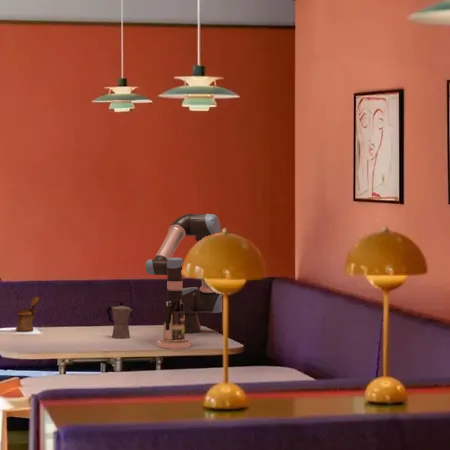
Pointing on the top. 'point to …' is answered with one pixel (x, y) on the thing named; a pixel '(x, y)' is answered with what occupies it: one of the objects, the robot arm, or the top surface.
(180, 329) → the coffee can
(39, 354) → the top surface
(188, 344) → the round dish
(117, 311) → the coffeepot
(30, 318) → the brown tapered pot
